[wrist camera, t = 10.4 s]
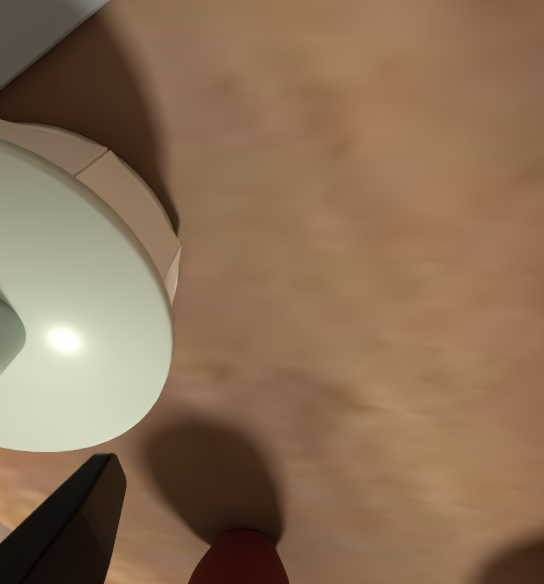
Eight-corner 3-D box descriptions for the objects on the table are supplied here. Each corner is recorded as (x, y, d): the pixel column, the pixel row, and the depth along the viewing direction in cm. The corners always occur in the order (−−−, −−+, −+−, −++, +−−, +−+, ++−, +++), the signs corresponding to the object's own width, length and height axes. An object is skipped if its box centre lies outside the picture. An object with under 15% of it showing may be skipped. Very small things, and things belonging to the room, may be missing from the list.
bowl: (58, 64, 17) (-26, 86, 13) (227, 291, 22) (207, 363, 17) (-120, 205, 21) (-231, 259, 16) (58, 374, 25) (7, 450, 21)
